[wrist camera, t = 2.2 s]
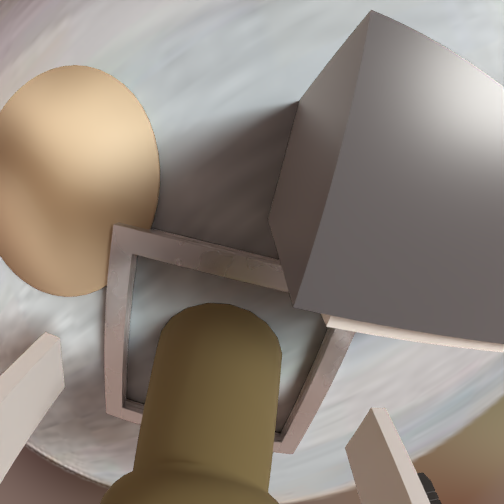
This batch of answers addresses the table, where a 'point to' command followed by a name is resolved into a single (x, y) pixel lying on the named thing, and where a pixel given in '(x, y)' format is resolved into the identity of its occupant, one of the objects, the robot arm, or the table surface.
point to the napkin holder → (397, 193)
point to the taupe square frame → (217, 263)
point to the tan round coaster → (73, 177)
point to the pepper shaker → (207, 412)
